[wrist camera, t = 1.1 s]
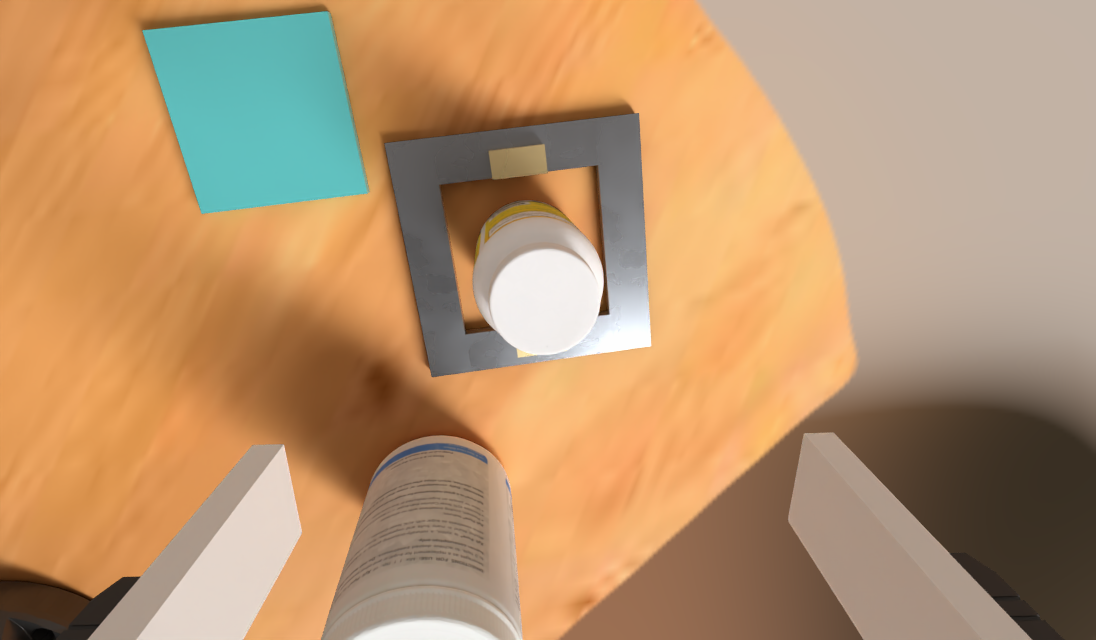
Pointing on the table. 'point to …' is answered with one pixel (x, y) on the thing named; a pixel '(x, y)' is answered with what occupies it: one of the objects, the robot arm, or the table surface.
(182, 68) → the coaster
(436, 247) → the socket plate
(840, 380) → the table surface
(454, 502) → the supplement tub
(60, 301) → the table surface
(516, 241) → the pill bottle
